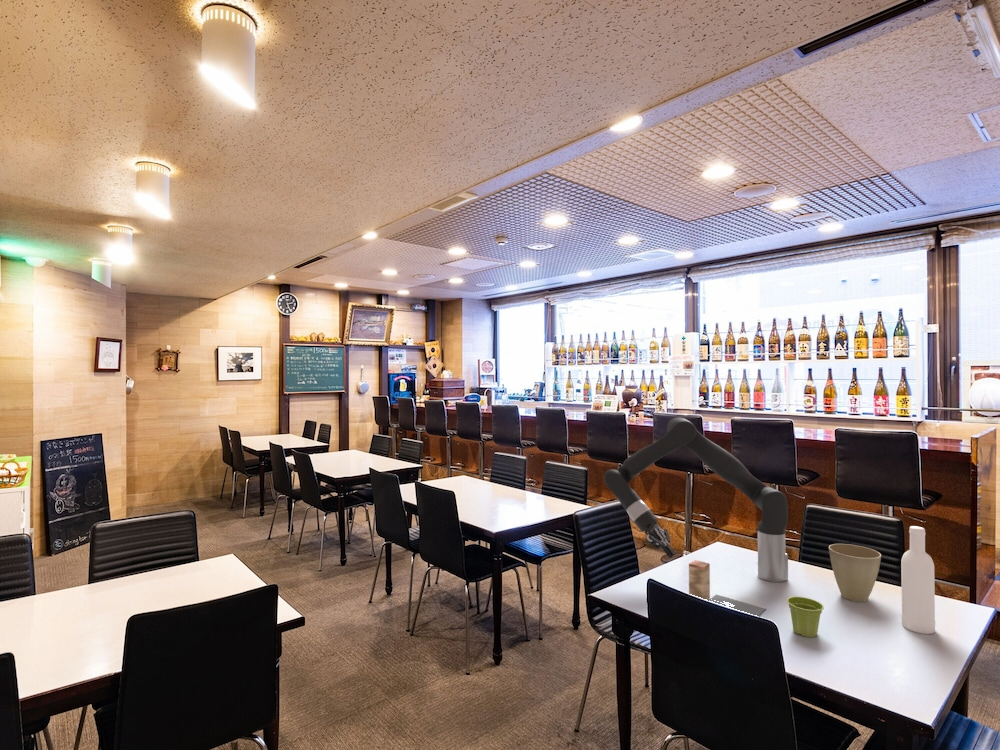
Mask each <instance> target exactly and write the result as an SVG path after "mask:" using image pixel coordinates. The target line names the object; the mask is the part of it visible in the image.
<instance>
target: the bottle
mask: <svg viewBox="0 0 1000 750" xmlns="http://www.w3.org/2000/svg"><path fill="white" fill-rule="evenodd" d="M908 533H909V549H908V550H907V551H905V552H904V553H903V555H902V557H901V560H900V561H901V564H900V568H901V571H900V573H901V574H900V575H901V577H900V578H901V579H900V580H901V583H900V584H901V614H900V615H901V625H902V627H904V628H905V629H907V630H909V631H911V632H914V633H917V634H923V635H931V634H933V633H935V631H936V616H935V615H936V607H935V606H936V604H935V603H936V601H935V600H936V599H935V594H936V593H935V592H936V591H935V587H936V586H935V584H936V583H935V563H934V561H933V559H932V557H931V555H930V554H928V553H927V552H926V529H925V528H924V527H921V526H917V525H910V526H909V530H908Z"/></svg>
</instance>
